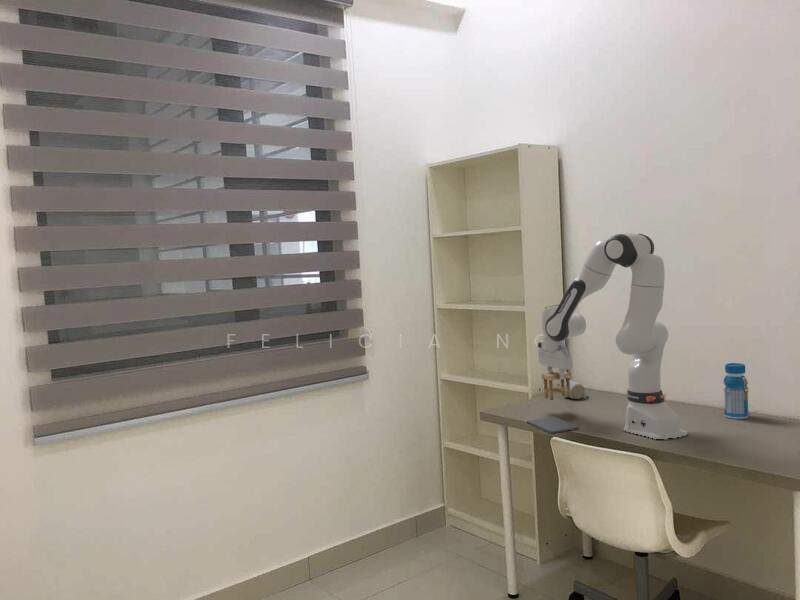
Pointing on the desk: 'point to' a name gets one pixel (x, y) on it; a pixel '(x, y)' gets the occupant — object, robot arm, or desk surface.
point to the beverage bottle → (735, 391)
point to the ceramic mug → (575, 390)
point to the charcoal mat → (552, 425)
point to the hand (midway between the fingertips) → (556, 377)
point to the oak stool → (552, 377)
